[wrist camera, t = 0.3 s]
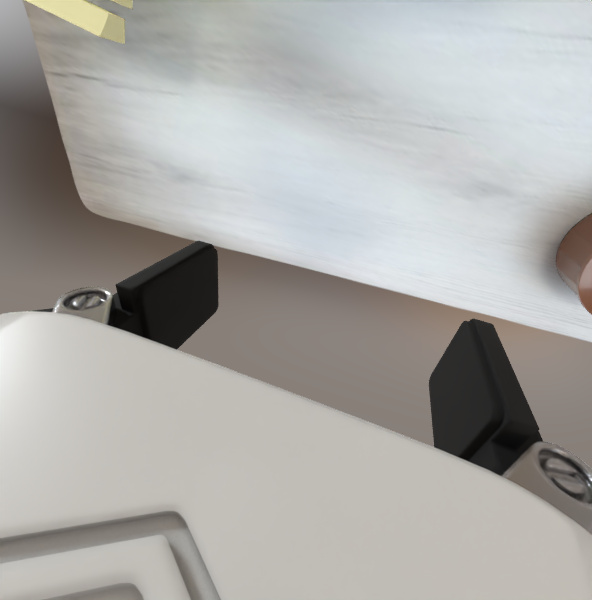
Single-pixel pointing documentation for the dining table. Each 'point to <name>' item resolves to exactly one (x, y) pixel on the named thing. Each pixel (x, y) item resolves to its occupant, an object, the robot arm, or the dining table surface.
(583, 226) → the pot
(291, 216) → the dining table surface
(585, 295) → the lid
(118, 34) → the slatted curved stool
